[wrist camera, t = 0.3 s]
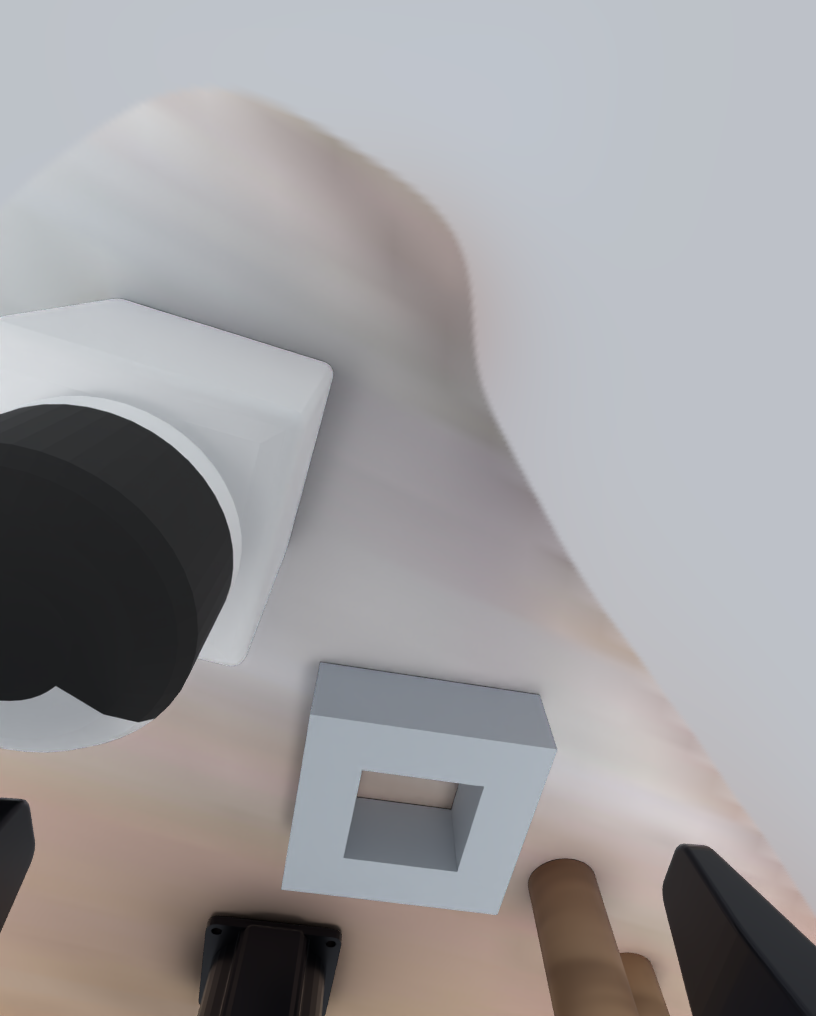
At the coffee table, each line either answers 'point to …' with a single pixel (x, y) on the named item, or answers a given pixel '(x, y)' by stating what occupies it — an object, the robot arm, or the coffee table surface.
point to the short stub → (644, 985)
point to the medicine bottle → (137, 509)
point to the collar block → (422, 754)
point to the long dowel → (578, 942)
